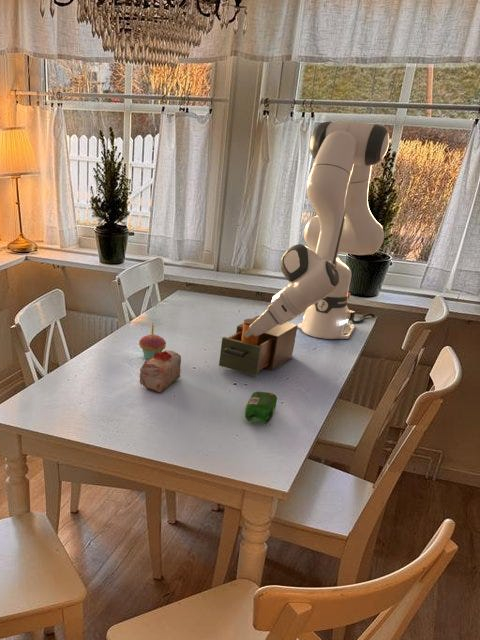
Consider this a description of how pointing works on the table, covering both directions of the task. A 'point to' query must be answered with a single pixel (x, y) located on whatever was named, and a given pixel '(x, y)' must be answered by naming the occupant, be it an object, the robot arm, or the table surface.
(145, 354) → the cupcake
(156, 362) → the food item
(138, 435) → the table surface
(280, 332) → the cabinet
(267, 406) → the snack package
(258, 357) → the drawer
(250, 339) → the cookie roll
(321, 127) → the robot arm
